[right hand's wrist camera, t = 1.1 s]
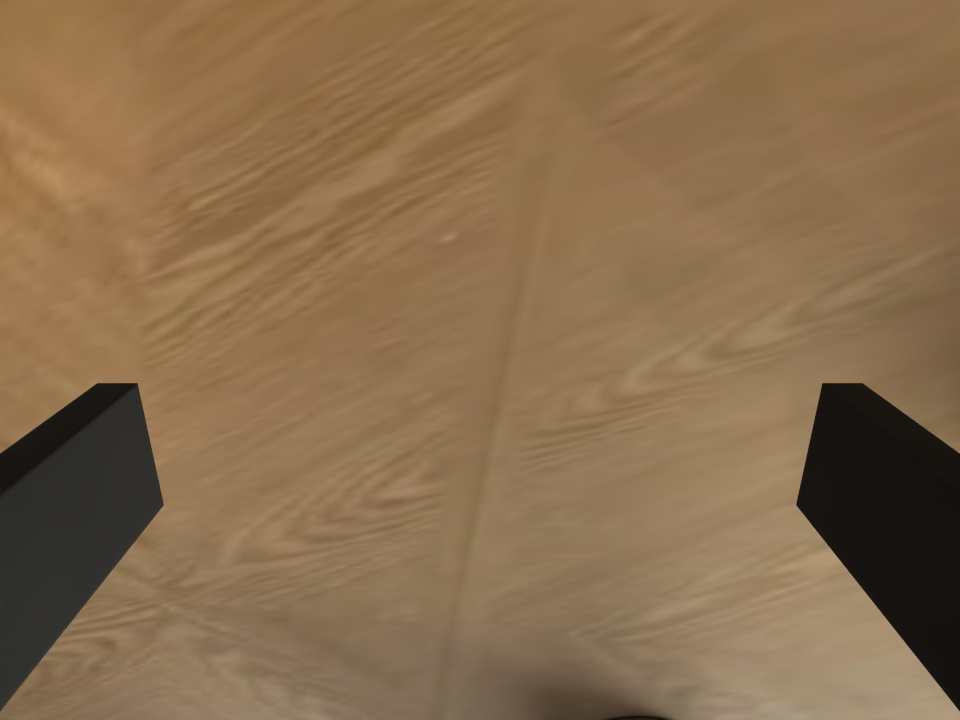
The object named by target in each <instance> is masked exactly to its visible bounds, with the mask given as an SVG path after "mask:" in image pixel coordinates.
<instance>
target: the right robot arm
mask: <svg viewBox="0 0 960 720" xmlns="http://www.w3.org/2000/svg"><path fill="white" fill-rule="evenodd" d="M163 505H164V504H163V499H162V494H161V490H160V485H159V481H158V476H157V471H156V467H155V462H154V457H153V453H152V448H151V444H150V439H149V434H148V430H147V425H146V420H145V416H144V411H143V407H142V402H141V397H140V393H139V388H138V383H97V384H96V385H94V386H93V387H92V388H90V389H89V390H88V391H86V392H85V393H83V394H82V395H81V396H79V397H78V398H77V399H75V400H74V401H72V402H71V403H70V404H68V405H67V406H65V407H64V408H63V409H61V410H60V411H59V412H57V413H56V414H54V415H53V416H52V417H50V418H49V419H48V420H46V421H45V422H43V423H42V424H41V425H39V426H38V427H36V428H35V429H34V430H32V431H31V432H30V433H28V434H27V435H25V436H24V437H23V438H21V439H20V440H19V441H17V442H16V443H14V444H13V445H12V446H10V447H9V448H7V449H6V450H5V451H3V452H2V453H1V454H0V711H1V710H2V708H3V707H4V706H5V705H6V703H7V702H8V701H9V699H10V698H11V697H12V696H13V694H14V693H15V692H16V691H17V689H18V688H19V687H20V686H21V684H22V683H23V682H24V681H25V679H26V678H27V677H28V676H29V674H30V673H31V672H32V670H33V669H34V668H35V667H36V665H37V664H38V663H39V662H40V660H41V659H42V658H43V657H44V655H45V654H46V653H47V652H48V650H49V649H50V648H51V647H52V645H53V644H54V643H55V641H56V640H57V639H58V638H59V636H60V635H61V634H62V633H63V631H64V630H65V629H66V628H67V626H68V625H69V624H70V623H71V621H72V620H73V619H74V618H75V616H76V615H77V614H78V612H79V611H80V610H81V609H82V607H83V606H84V605H85V604H86V602H87V601H88V600H89V599H90V597H91V596H92V595H93V594H94V592H95V591H96V590H97V589H98V587H99V586H100V585H101V583H102V582H103V581H104V580H105V578H106V577H107V576H108V575H109V573H110V572H111V571H112V570H113V568H114V567H115V566H116V565H117V563H118V562H119V561H120V560H121V558H122V557H123V556H124V554H125V553H126V552H127V551H128V549H129V548H130V547H131V546H132V544H133V543H134V542H135V541H136V539H137V538H138V537H139V536H140V534H141V533H142V532H143V531H144V529H145V528H146V527H147V526H148V524H149V523H150V522H151V520H152V519H153V518H154V517H155V515H156V514H157V513H158V512H159V510H160V509H161V508H162V507H163ZM796 505H797V507H798V508H799V509H800V510H801V512H802V513H803V514H804V515H805V517H806V518H807V519H808V520H809V522H810V523H811V524H812V526H813V527H814V528H815V529H816V531H817V532H818V533H819V534H820V536H821V537H822V538H823V539H824V541H825V542H826V543H827V544H828V546H829V547H830V548H831V549H832V551H833V552H834V553H835V554H836V556H837V557H838V558H839V560H840V561H841V562H842V563H843V565H844V566H845V567H846V568H847V570H848V571H849V572H850V573H851V575H852V576H853V577H854V578H855V580H856V581H857V582H858V583H859V585H860V586H861V587H862V589H863V590H864V591H865V592H866V594H867V595H868V596H869V597H870V599H871V600H872V601H873V602H874V604H875V605H876V606H877V607H878V609H879V610H880V611H881V612H882V614H883V615H884V616H885V618H886V619H887V620H888V621H889V623H890V624H891V625H892V626H893V628H894V629H895V630H896V631H897V633H898V634H899V635H900V636H901V638H902V639H903V640H904V641H905V643H906V644H907V645H908V647H909V648H910V649H911V650H912V652H913V653H914V654H915V655H916V657H917V658H918V659H919V660H920V662H921V663H922V664H923V665H924V667H925V668H926V669H927V670H928V672H929V673H930V674H931V676H932V677H933V678H934V679H935V681H936V682H937V683H938V684H939V686H940V687H941V688H942V689H943V691H944V692H945V693H946V694H947V696H948V697H949V698H950V699H951V701H952V702H953V703H954V705H955V706H956V707H957V708H958V710H959V711H960V454H959V453H958V452H957V451H955V450H954V449H953V448H951V447H950V446H948V445H947V444H946V443H944V442H943V441H941V440H940V439H939V438H937V437H936V436H935V435H933V434H932V433H930V432H929V431H928V430H926V429H925V428H924V427H922V426H921V425H919V424H918V423H917V422H915V421H914V420H912V419H911V418H910V417H908V416H907V415H906V414H904V413H903V412H901V411H900V410H899V409H897V408H896V407H895V406H893V405H892V404H890V403H889V402H888V401H886V400H885V399H883V398H882V397H881V396H879V395H878V394H877V393H875V392H874V391H872V390H871V389H870V388H868V387H867V386H866V385H864V384H863V383H822V388H821V393H820V397H819V402H818V407H817V411H816V416H815V420H814V425H813V430H812V434H811V439H810V444H809V448H808V453H807V457H806V462H805V467H804V471H803V476H802V481H801V485H800V490H799V494H798V499H797V504H796ZM619 720H658V719H650V718H627V719H619Z"/></svg>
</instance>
